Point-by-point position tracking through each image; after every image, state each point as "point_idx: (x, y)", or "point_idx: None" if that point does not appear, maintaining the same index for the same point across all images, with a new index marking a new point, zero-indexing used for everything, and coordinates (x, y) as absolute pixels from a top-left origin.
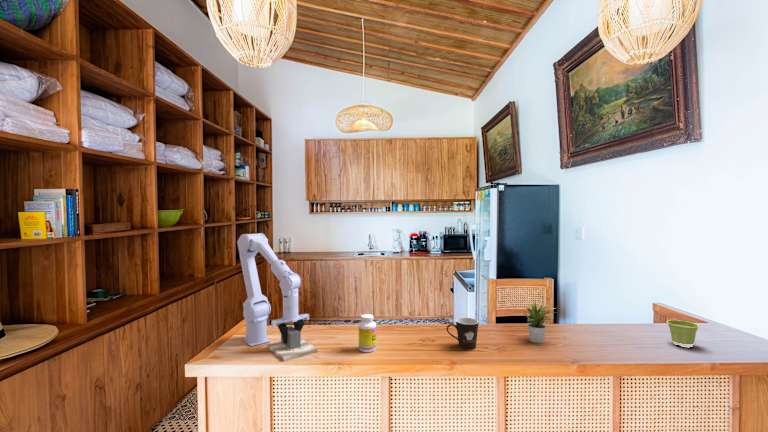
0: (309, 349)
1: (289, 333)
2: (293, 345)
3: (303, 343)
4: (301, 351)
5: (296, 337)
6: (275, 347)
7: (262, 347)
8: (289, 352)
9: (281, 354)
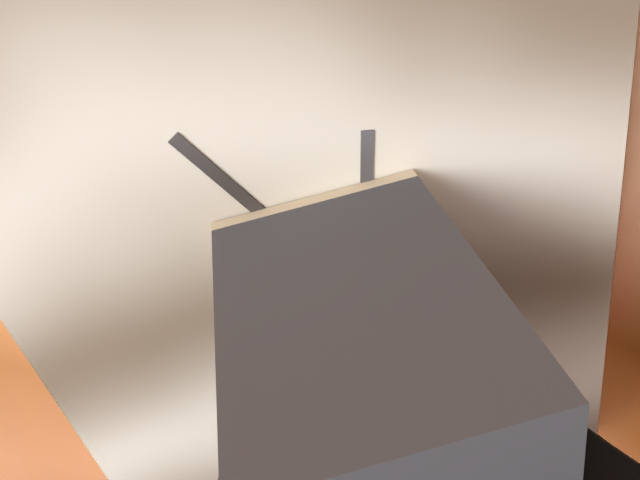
0: (22, 61)
1: (581, 461)
2: (373, 225)
3: (135, 382)
4: (220, 23)
5: (338, 351)
6: (561, 356)
7: (612, 444)
8: (455, 84)
9: (611, 48)
